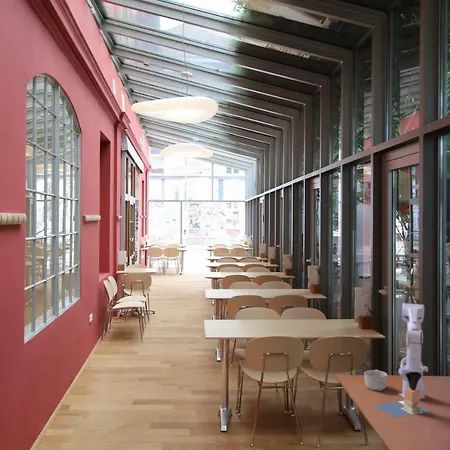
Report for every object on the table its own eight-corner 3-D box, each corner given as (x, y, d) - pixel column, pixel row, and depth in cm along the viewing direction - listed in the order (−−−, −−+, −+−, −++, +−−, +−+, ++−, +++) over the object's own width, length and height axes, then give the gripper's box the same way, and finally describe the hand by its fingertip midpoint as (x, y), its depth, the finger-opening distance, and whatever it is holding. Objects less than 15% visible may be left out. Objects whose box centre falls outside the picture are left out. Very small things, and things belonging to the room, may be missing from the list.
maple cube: (412, 407, 214) (412, 397, 214) (419, 411, 210) (420, 401, 210) (404, 408, 212) (404, 398, 212) (411, 412, 208) (411, 402, 208)
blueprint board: (408, 401, 223) (408, 399, 223) (431, 413, 210) (431, 411, 210) (372, 406, 216) (372, 404, 216) (394, 418, 203) (394, 416, 203)
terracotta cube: (412, 397, 214) (413, 387, 214) (420, 401, 210) (420, 391, 210) (404, 398, 212) (405, 388, 212) (412, 402, 208) (412, 392, 208)
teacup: (383, 394, 231) (384, 378, 231) (361, 389, 237) (361, 373, 236) (390, 386, 243) (391, 370, 243) (368, 382, 248) (369, 366, 248)
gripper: (407, 362, 204) (406, 393, 205) (433, 359, 210) (432, 390, 210) (395, 357, 211) (394, 388, 211) (421, 354, 216) (420, 384, 216)
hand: (412, 388), depth 211 cm, fingers closed
